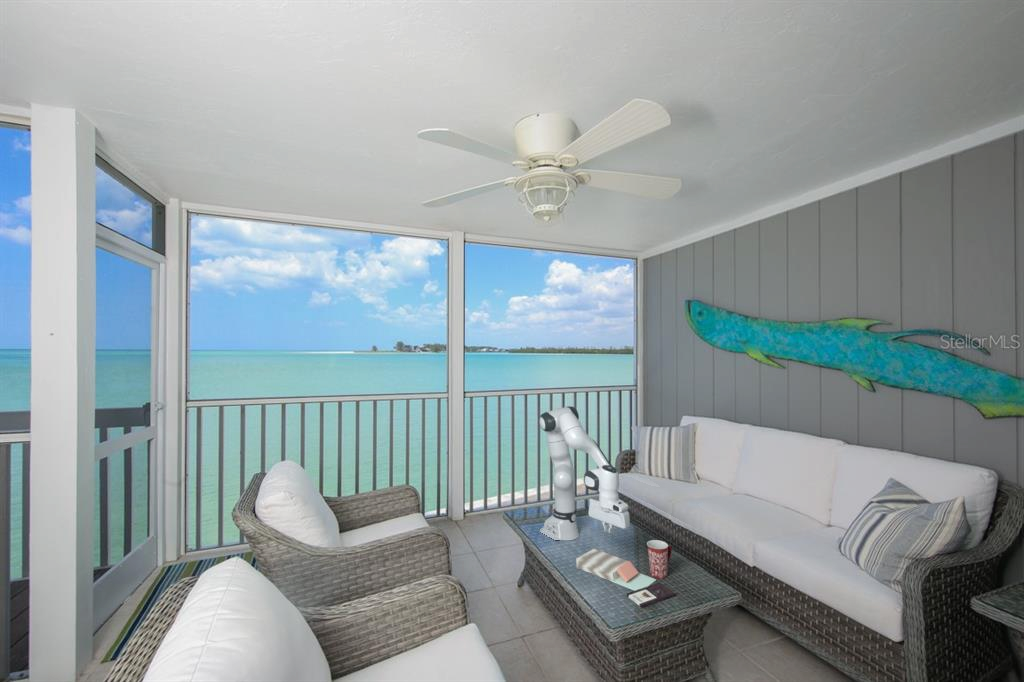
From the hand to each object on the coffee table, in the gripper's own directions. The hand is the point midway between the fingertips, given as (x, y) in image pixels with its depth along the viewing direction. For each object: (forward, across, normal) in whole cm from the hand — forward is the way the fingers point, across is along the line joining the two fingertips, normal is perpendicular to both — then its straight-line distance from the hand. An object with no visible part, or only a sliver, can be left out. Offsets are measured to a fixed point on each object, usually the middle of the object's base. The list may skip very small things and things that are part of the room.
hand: (608, 532), depth 201 cm
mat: (+17, +13, 0) cm, 22 cm away
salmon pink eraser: (+15, +10, 0) cm, 18 cm away
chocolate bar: (+17, +25, -6) cm, 31 cm away
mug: (+17, +19, +14) cm, 29 cm away
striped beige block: (+18, -2, 0) cm, 18 cm away
